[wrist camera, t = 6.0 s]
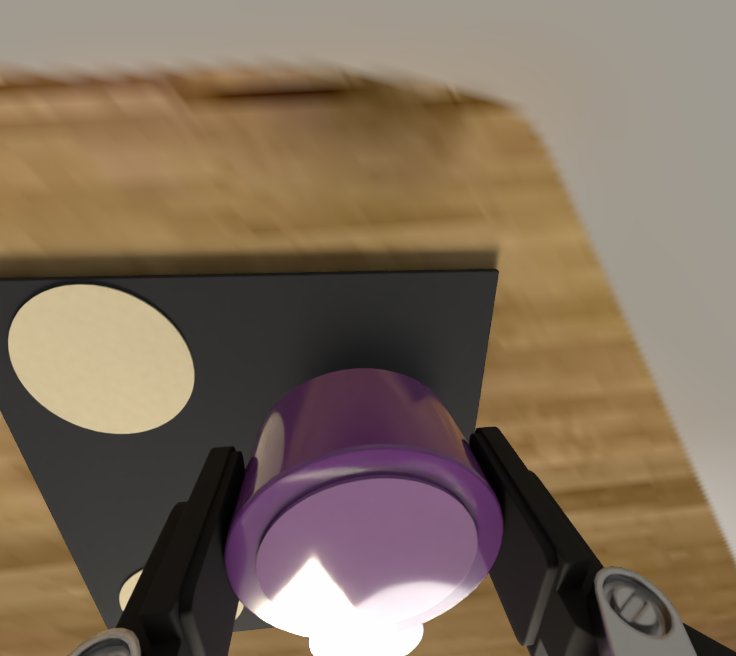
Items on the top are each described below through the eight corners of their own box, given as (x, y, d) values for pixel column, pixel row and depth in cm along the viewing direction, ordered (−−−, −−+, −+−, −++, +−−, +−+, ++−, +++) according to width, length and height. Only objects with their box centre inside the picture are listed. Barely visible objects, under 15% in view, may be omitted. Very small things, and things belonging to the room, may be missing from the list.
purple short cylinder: (264, 538, 12) (243, 662, 9) (238, 373, 9) (194, 464, 6) (447, 519, 12) (487, 628, 9) (468, 361, 10) (530, 437, 7)
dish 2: (314, 612, 23) (311, 678, 20) (308, 547, 20) (304, 610, 17) (409, 602, 23) (420, 665, 20) (414, 537, 21) (428, 598, 18)
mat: (118, 637, 22) (114, 646, 22) (-53, 278, 13) (-67, 282, 13) (446, 602, 24) (448, 610, 24) (495, 268, 15) (500, 271, 15)
